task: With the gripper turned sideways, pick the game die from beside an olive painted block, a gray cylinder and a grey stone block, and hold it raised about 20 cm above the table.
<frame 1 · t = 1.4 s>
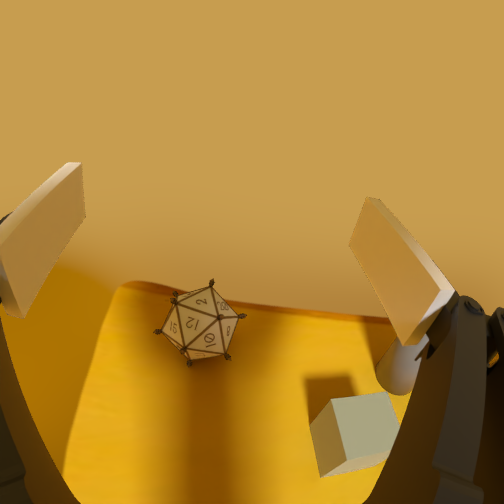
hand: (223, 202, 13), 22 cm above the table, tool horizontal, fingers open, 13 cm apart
game die: (198, 348, 33), on the table
gray cylinder: (395, 375, 33), on the table
olive block: (342, 447, 25), on the table
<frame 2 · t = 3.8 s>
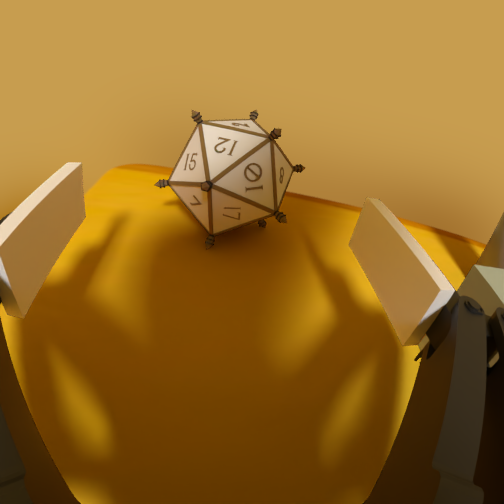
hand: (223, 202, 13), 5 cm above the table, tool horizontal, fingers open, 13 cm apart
game die: (223, 229, 22), on the table
gray cylinder: (491, 293, 21), on the table
olive block: (468, 379, 13), on the table
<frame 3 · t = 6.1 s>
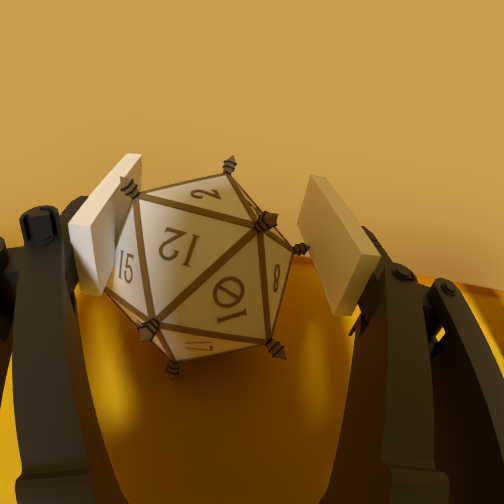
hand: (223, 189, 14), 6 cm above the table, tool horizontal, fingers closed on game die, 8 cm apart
game die: (193, 334, 15), on the table, touching gripper
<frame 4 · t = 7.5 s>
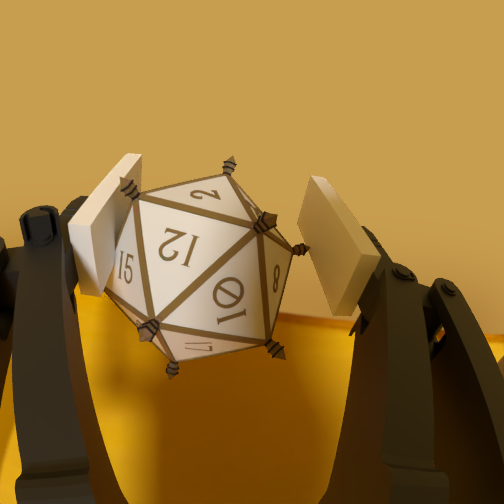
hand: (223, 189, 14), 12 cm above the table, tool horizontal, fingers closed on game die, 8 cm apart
game die: (193, 334, 15), point 5 cm above the table, touching gripper
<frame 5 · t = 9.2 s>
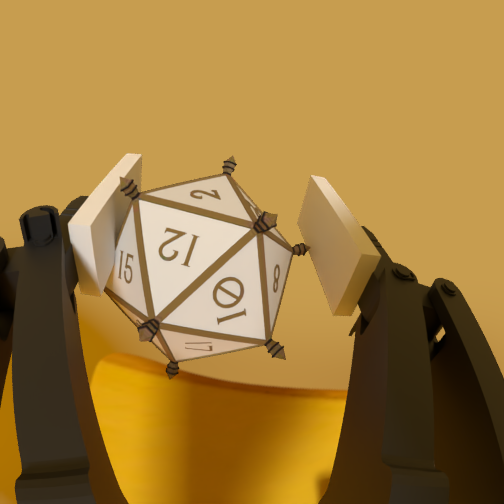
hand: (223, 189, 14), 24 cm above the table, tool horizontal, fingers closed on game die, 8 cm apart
game die: (193, 334, 15), point 17 cm above the table, touching gripper
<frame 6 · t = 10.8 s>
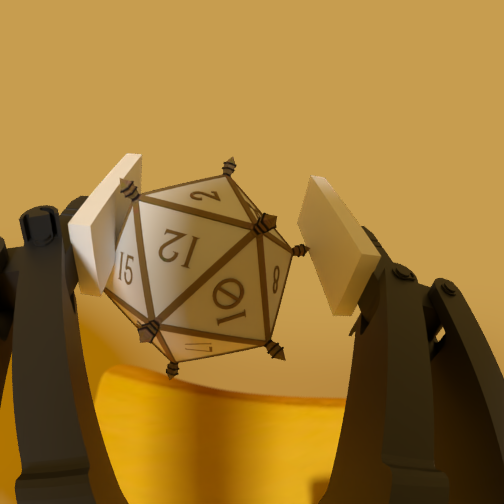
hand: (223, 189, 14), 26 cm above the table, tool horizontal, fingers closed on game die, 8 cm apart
game die: (193, 335, 15), point 20 cm above the table, touching gripper
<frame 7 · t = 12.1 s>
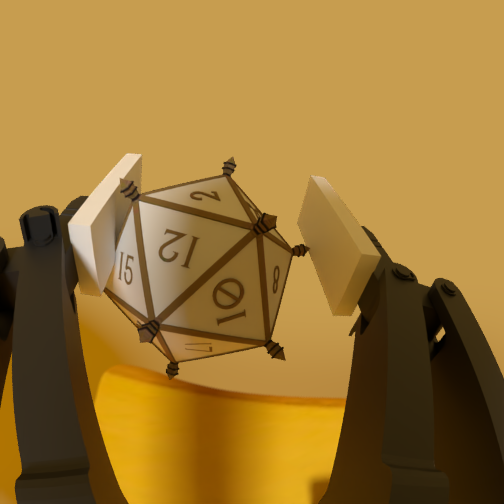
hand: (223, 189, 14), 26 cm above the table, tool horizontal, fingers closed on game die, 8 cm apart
game die: (193, 335, 15), point 20 cm above the table, touching gripper
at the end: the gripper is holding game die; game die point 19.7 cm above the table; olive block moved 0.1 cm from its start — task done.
